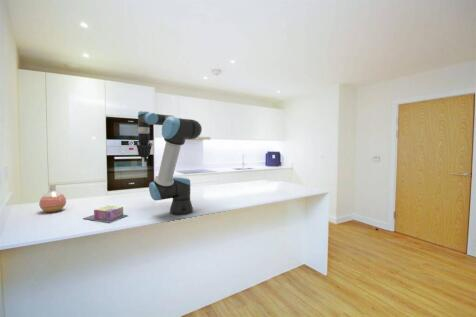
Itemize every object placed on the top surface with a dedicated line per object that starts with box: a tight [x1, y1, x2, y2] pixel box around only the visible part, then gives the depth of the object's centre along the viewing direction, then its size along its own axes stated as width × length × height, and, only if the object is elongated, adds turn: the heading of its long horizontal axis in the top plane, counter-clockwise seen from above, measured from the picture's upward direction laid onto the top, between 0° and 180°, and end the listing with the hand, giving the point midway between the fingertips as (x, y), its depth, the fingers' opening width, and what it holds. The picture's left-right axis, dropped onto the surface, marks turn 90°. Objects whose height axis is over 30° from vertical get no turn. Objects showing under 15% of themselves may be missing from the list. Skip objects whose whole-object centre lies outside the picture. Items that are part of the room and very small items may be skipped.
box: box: [93, 205, 124, 221], centre depth 137 cm, size 10×6×12 cm
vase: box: [39, 184, 67, 213], centre depth 149 cm, size 14×14×18 cm
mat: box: [82, 214, 129, 224], centre depth 138 cm, size 20×14×1 cm
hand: (144, 166), depth 163 cm, fingers closed
